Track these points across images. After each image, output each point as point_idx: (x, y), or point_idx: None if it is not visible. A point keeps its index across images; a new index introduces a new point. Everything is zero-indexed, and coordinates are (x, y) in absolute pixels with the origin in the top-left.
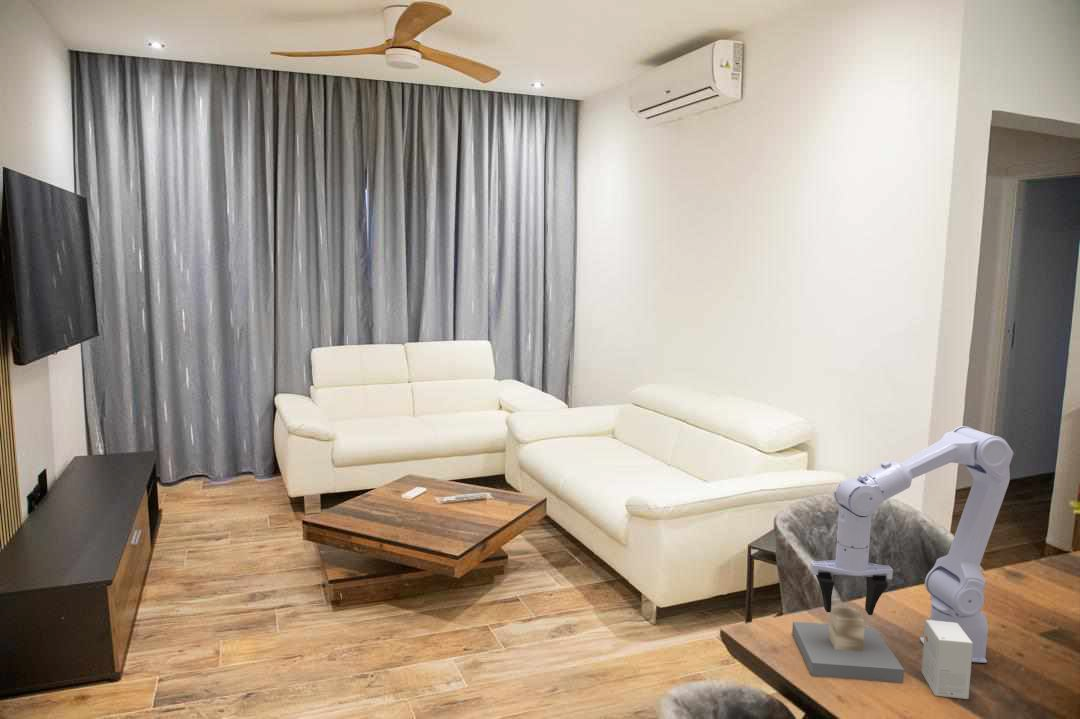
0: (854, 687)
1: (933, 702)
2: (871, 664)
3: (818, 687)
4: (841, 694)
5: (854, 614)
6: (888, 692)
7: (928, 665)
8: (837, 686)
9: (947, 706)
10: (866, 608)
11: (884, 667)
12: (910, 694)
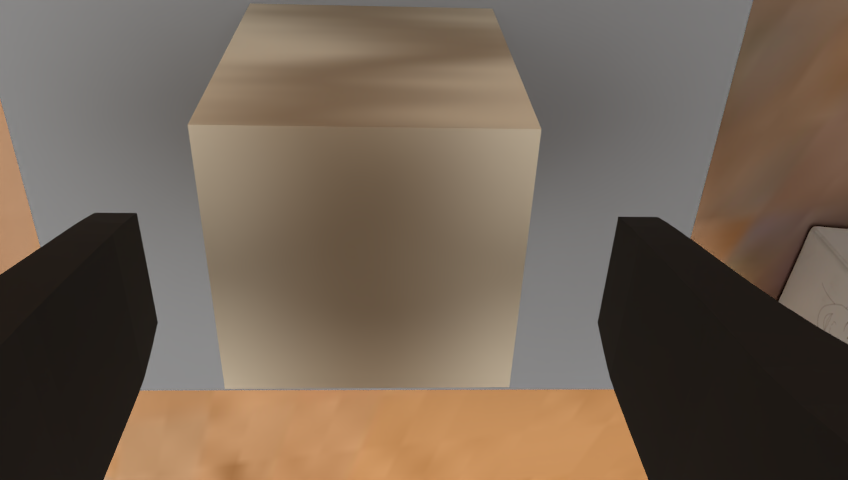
0: (333, 398)
1: None
2: None
3: (137, 419)
4: (248, 455)
5: (451, 274)
6: (499, 415)
7: None
8: (242, 401)
9: None
10: (622, 269)
11: (537, 381)
12: (606, 416)
